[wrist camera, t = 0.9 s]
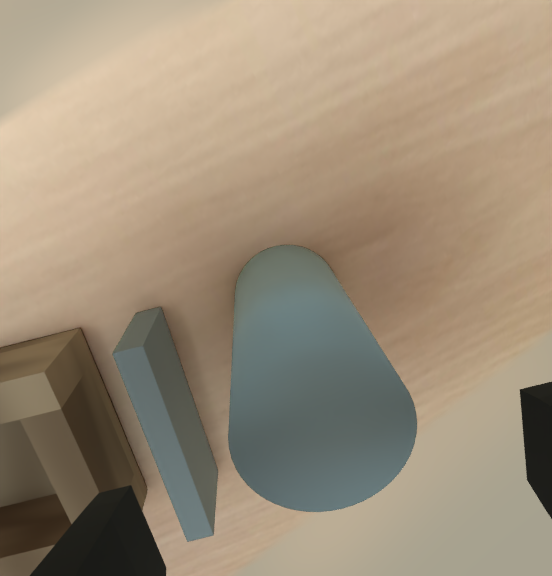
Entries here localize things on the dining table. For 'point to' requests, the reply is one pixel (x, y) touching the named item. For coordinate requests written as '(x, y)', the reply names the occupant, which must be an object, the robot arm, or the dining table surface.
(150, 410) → the backstop wall
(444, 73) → the dining table surface
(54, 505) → the frame
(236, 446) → the dowel
